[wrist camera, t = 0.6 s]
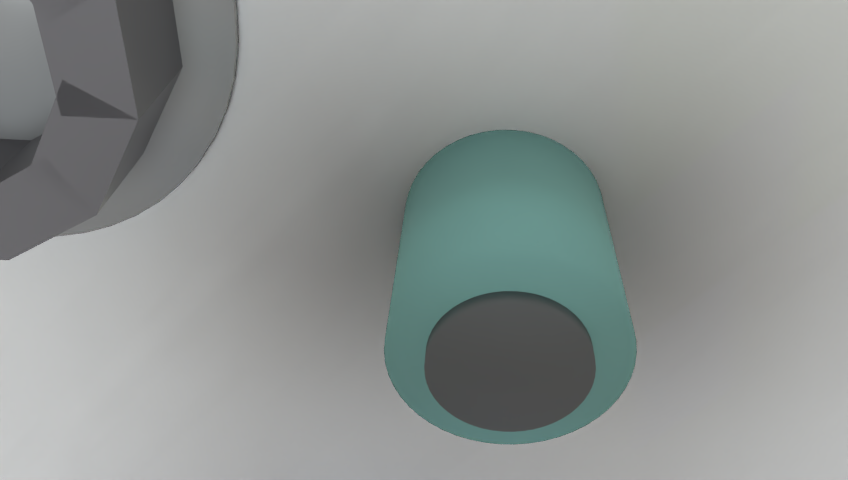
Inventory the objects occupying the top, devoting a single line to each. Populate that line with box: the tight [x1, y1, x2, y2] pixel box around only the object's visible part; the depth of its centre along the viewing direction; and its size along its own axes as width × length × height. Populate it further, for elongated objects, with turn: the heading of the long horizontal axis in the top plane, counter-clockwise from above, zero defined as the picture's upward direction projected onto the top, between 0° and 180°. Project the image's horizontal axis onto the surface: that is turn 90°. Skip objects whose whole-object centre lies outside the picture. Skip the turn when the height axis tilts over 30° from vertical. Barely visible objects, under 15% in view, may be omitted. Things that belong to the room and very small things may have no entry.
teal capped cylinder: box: [384, 130, 637, 444], centre depth 17 cm, size 5×5×5 cm
